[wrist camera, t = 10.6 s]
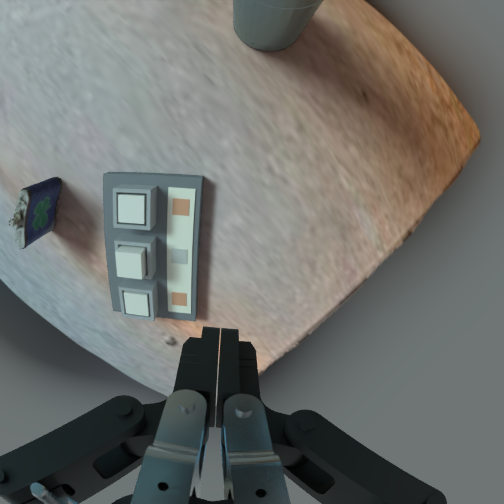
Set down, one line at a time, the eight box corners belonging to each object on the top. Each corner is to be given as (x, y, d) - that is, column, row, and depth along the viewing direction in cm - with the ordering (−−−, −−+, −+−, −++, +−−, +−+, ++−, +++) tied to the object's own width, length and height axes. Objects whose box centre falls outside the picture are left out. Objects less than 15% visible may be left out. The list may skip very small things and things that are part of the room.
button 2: (126, 190, 35) (118, 194, 32) (151, 191, 35) (144, 196, 33) (126, 215, 36) (118, 222, 34) (150, 217, 37) (144, 224, 34)
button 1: (130, 282, 40) (123, 292, 38) (152, 285, 41) (146, 295, 38) (132, 302, 42) (126, 313, 39) (153, 305, 42) (148, 316, 39)
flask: (55, 231, 39) (17, 257, 29) (43, 226, 38) (4, 249, 28) (64, 178, 36) (22, 193, 26) (51, 173, 35) (8, 187, 25)
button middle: (123, 243, 36) (115, 251, 33) (147, 245, 37) (140, 254, 34) (124, 266, 38) (117, 276, 35) (148, 269, 38) (142, 279, 35)
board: (109, 172, 36) (93, 177, 31) (203, 175, 37) (198, 181, 33) (117, 304, 44) (106, 321, 39) (196, 314, 45) (193, 332, 41)
